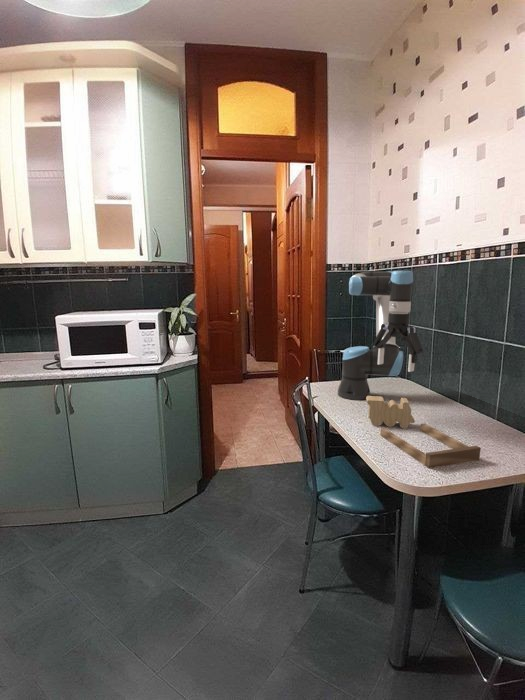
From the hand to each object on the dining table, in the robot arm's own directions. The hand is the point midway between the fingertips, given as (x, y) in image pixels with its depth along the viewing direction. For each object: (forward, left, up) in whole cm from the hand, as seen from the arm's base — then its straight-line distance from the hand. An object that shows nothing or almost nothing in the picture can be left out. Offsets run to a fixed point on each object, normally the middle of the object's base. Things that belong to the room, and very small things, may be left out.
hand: (395, 367), depth 135 cm
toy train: (+6, -6, -21) cm, 22 cm away
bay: (+25, -6, -20) cm, 33 cm away
